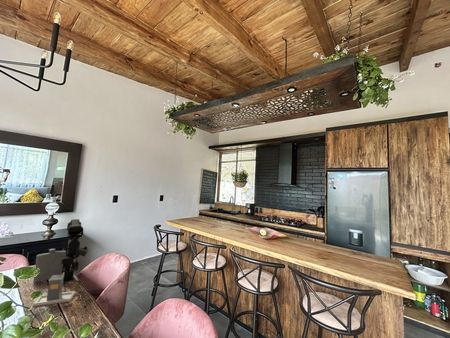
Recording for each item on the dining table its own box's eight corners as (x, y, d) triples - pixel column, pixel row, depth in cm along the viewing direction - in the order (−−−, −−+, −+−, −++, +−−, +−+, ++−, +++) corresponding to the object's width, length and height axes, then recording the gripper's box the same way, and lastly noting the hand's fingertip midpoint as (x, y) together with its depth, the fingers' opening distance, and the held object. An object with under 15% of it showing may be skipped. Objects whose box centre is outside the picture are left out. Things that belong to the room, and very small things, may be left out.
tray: (40, 298, 118) (40, 295, 118) (74, 293, 125) (75, 290, 125) (33, 306, 110) (33, 303, 110) (70, 301, 117) (70, 298, 117)
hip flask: (33, 283, 134) (37, 252, 136) (32, 280, 137) (36, 250, 139) (63, 276, 146) (66, 247, 148) (62, 274, 149) (65, 246, 150)
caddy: (49, 297, 119) (52, 275, 120) (61, 295, 121) (64, 274, 122) (46, 302, 114) (49, 279, 115) (58, 300, 116) (61, 278, 117)
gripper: (84, 248, 127) (81, 274, 125) (91, 240, 144) (88, 262, 143) (62, 249, 122) (59, 276, 121) (72, 241, 139) (69, 264, 138)
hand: (70, 269), depth 131 cm, fingers open, 9 cm apart
